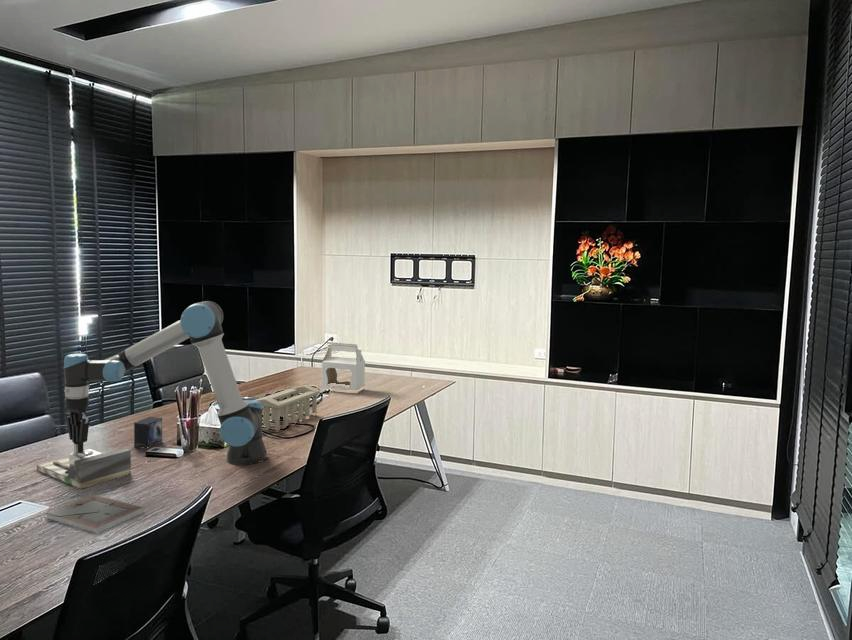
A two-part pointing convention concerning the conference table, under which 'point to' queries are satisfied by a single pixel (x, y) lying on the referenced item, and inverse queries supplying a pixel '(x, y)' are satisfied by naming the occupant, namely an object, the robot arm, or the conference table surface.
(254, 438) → the robot arm
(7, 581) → the conference table surface
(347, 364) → the gable box
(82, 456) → the grey dimpled block
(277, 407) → the architectural model
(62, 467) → the base
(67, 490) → the conference table surface
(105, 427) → the conference table surface
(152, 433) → the small box
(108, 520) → the picture frame
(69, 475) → the max marker
